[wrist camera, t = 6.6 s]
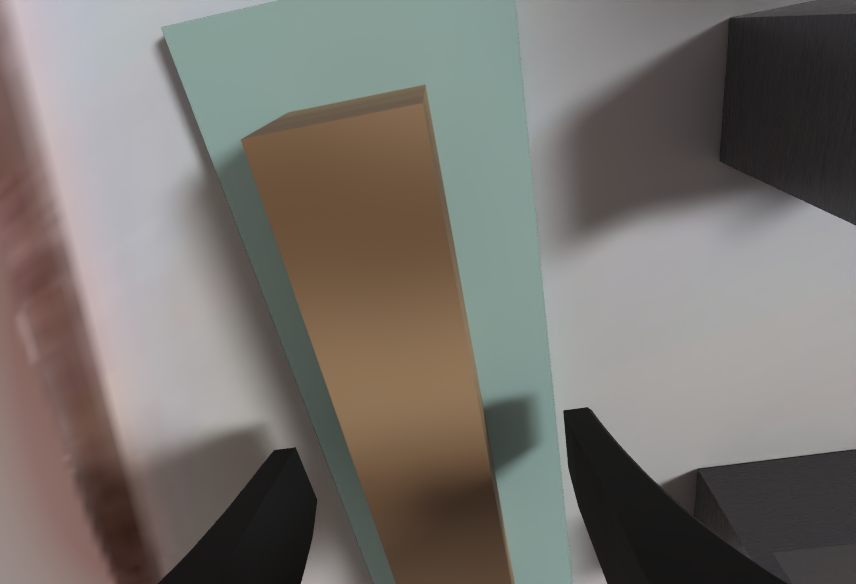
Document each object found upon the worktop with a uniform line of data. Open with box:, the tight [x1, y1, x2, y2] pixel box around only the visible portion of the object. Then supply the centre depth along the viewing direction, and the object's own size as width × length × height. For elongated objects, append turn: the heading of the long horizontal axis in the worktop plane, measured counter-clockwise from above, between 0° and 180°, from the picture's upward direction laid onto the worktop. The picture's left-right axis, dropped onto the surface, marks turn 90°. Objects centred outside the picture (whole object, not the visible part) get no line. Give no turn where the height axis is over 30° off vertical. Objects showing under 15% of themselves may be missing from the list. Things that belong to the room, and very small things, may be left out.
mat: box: [161, 0, 572, 584], centre depth 15 cm, size 22×7×1 cm, turn 11°
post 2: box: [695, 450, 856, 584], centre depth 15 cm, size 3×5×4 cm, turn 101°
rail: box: [241, 84, 515, 584], centre depth 13 cm, size 18×3×3 cm, turn 11°
